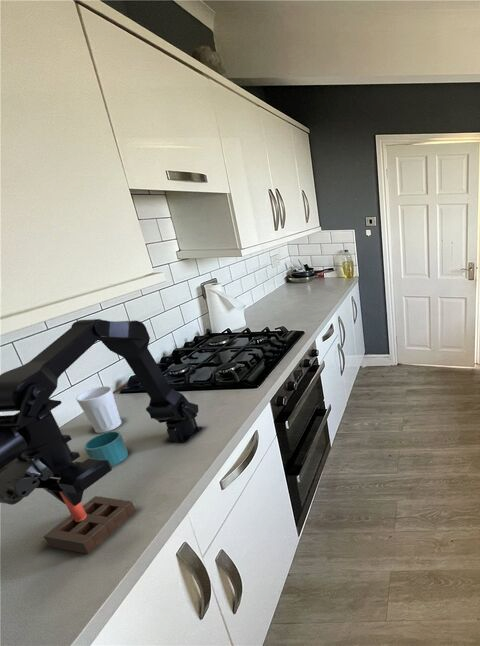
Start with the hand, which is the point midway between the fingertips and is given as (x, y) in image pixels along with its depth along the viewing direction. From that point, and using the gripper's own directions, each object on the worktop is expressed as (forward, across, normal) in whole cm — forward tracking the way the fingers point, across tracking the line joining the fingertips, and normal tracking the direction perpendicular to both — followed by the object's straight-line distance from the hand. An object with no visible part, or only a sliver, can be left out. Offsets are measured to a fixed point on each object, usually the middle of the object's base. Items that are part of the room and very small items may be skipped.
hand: (73, 503), depth 69 cm
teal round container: (+10, -20, +20) cm, 30 cm away
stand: (+10, -2, +2) cm, 10 cm away
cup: (+10, -36, +32) cm, 49 cm away
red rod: (+4, 0, 0) cm, 4 cm away
